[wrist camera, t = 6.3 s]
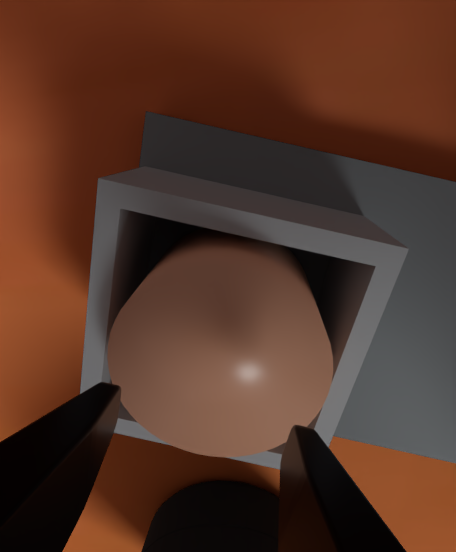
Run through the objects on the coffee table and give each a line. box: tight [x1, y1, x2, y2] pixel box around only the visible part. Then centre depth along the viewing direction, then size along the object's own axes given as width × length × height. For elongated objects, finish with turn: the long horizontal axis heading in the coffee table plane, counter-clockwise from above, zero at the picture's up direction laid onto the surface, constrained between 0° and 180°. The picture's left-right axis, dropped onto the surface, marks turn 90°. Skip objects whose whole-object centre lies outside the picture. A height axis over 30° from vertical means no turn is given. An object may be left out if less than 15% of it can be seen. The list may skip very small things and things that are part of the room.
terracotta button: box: [107, 228, 333, 457], centre depth 11 cm, size 6×6×4 cm
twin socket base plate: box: [80, 111, 456, 469], centre depth 13 cm, size 11×24×6 cm, turn 78°
